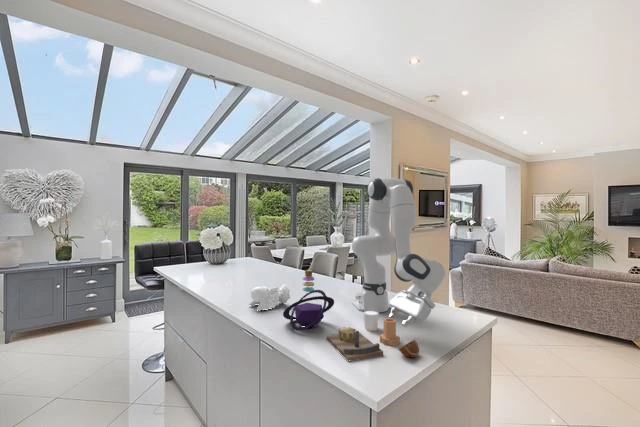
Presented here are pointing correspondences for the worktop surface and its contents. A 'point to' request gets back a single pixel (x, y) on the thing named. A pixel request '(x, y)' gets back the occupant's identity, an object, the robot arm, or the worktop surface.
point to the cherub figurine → (269, 296)
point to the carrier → (354, 344)
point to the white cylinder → (371, 320)
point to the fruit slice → (410, 349)
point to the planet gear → (389, 333)
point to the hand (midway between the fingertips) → (396, 321)
